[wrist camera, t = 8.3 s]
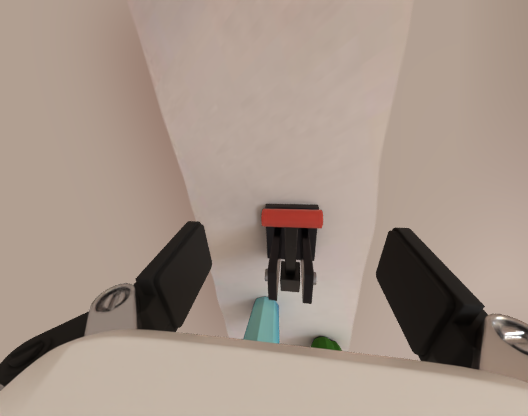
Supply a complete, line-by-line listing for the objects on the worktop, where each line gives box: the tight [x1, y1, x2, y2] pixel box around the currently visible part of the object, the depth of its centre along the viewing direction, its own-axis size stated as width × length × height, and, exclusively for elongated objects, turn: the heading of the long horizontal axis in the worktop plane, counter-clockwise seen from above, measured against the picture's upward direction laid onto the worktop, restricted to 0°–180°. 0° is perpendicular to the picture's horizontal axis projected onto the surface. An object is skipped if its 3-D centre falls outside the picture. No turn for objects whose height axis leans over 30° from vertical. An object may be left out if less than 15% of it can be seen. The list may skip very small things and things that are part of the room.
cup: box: [243, 297, 279, 344], centre depth 34 cm, size 14×8×15 cm, turn 5°
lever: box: [261, 209, 323, 292], centre depth 20 cm, size 12×5×2 cm, turn 4°
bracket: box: [265, 204, 319, 304], centre depth 27 cm, size 10×8×12 cm
